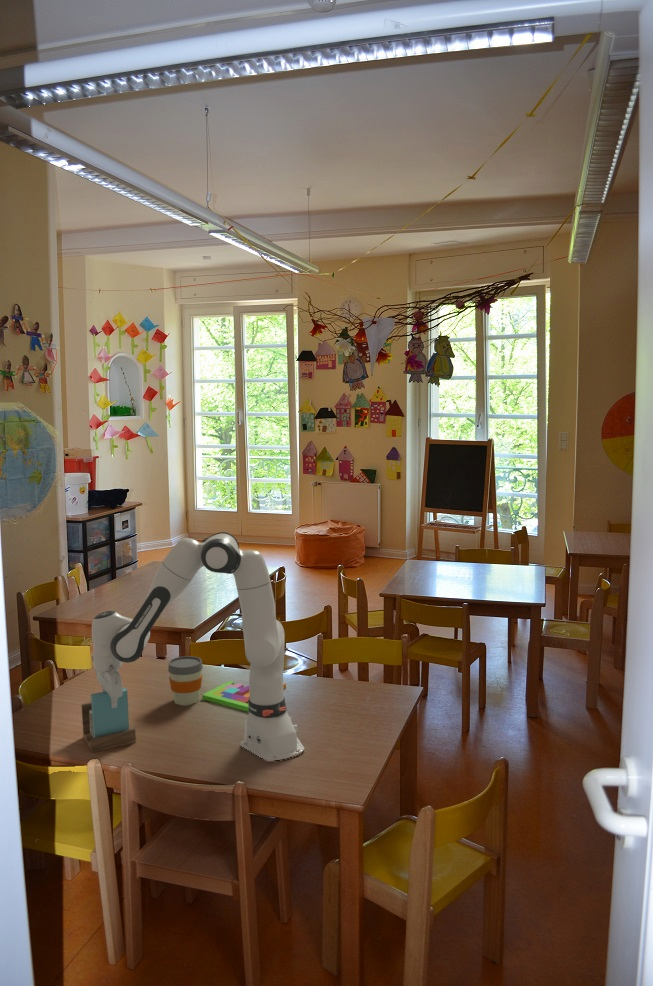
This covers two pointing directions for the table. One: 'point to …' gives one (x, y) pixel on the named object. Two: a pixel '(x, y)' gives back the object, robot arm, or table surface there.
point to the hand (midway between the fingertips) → (110, 702)
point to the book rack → (106, 740)
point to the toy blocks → (231, 695)
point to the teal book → (109, 714)
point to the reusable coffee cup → (185, 679)
